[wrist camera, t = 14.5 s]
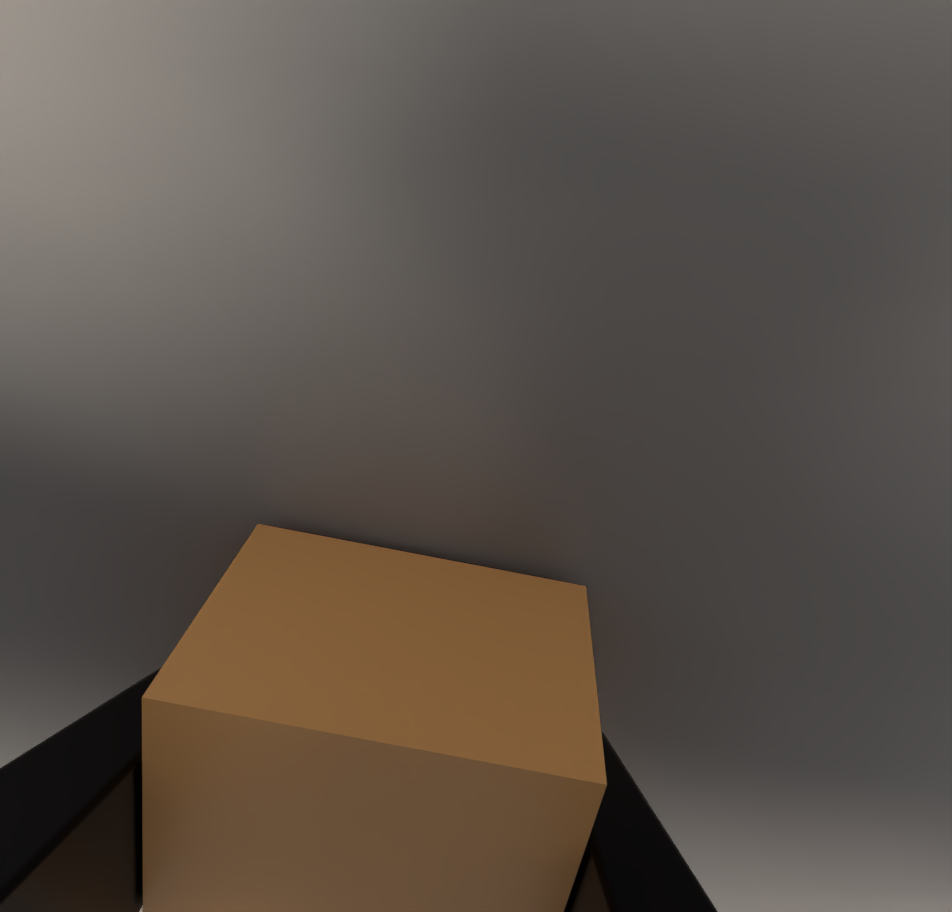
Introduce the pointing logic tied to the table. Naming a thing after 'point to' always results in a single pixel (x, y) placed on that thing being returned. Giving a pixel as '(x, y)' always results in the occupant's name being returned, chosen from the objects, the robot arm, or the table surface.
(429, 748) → the plug
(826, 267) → the table surface
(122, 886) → the robot arm
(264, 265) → the table surface
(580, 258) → the table surface
